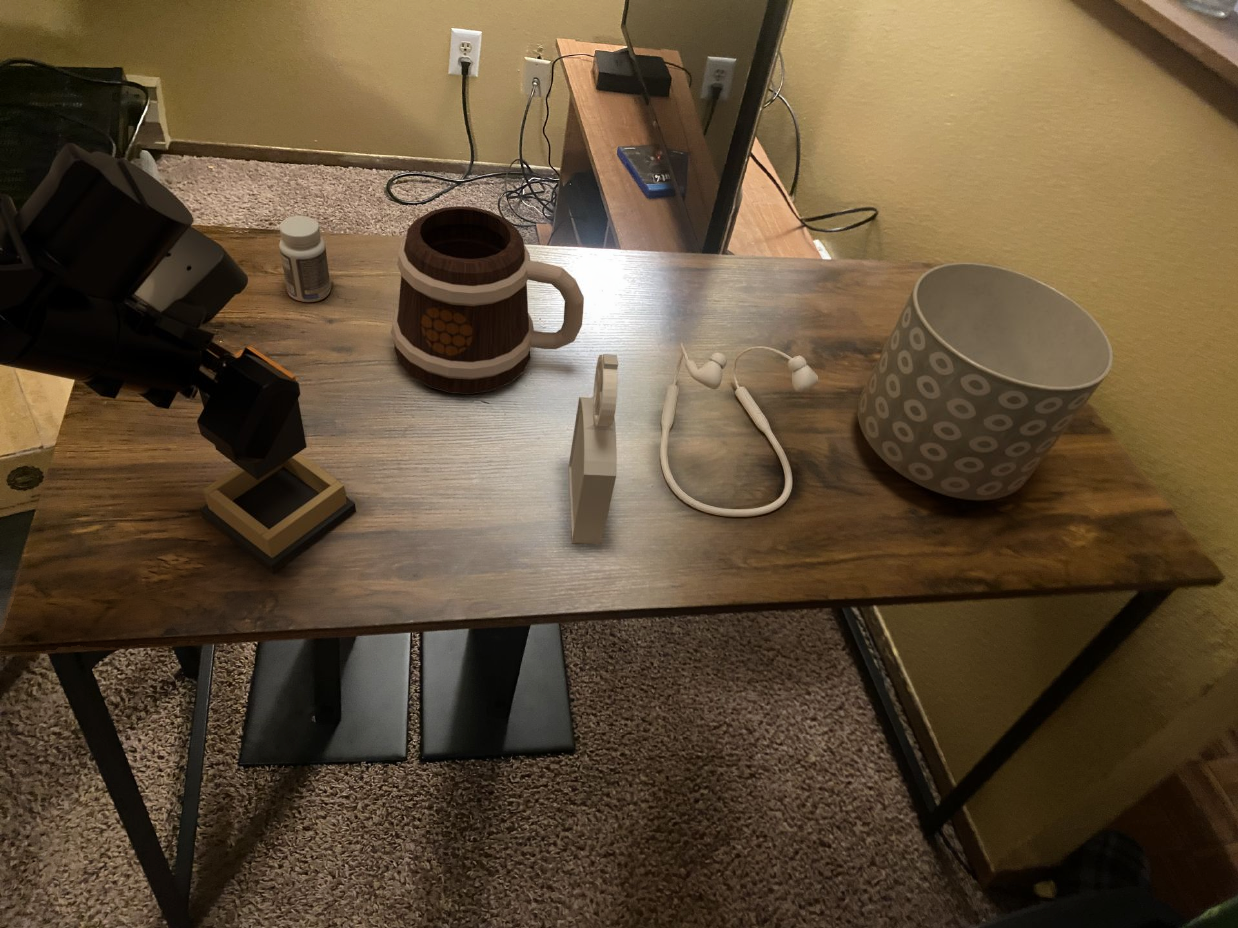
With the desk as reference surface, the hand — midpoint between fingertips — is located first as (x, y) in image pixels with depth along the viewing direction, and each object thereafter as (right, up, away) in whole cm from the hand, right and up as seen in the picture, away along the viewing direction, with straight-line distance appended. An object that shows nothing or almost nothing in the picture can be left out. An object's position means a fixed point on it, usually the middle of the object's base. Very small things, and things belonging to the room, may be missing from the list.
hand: (263, 381), depth 65 cm
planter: (+62, -5, +27) cm, 68 cm away
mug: (+13, +5, +26) cm, 30 cm away
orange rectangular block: (-2, -5, +4) cm, 7 cm away
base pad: (-2, -11, +8) cm, 14 cm away
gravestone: (+25, -10, +14) cm, 30 cm away
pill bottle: (-7, +13, +29) cm, 33 cm away
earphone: (+38, -5, +22) cm, 45 cm away
